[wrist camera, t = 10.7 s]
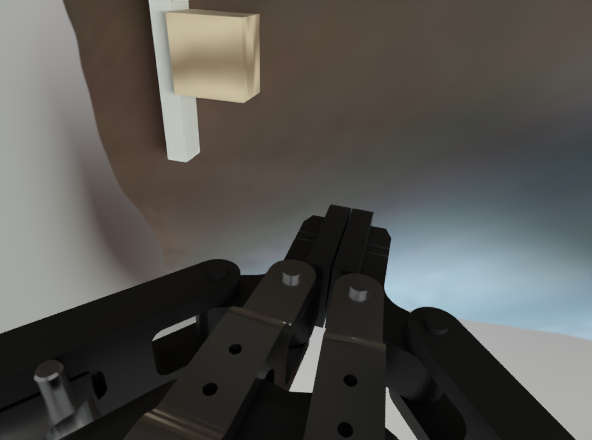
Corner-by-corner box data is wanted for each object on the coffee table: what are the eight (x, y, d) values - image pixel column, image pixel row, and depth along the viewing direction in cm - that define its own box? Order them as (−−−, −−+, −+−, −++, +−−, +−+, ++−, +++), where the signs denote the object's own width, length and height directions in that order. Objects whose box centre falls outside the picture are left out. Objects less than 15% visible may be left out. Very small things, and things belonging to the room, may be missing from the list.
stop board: (164, -31, 42) (144, -32, 39) (185, -30, 42) (167, -30, 39) (182, 149, 53) (168, 159, 50) (199, 152, 52) (186, 162, 49)
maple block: (190, 8, 44) (165, 11, 40) (259, 13, 42) (241, 17, 38) (196, 84, 48) (174, 94, 44) (260, 91, 46) (243, 103, 42)
